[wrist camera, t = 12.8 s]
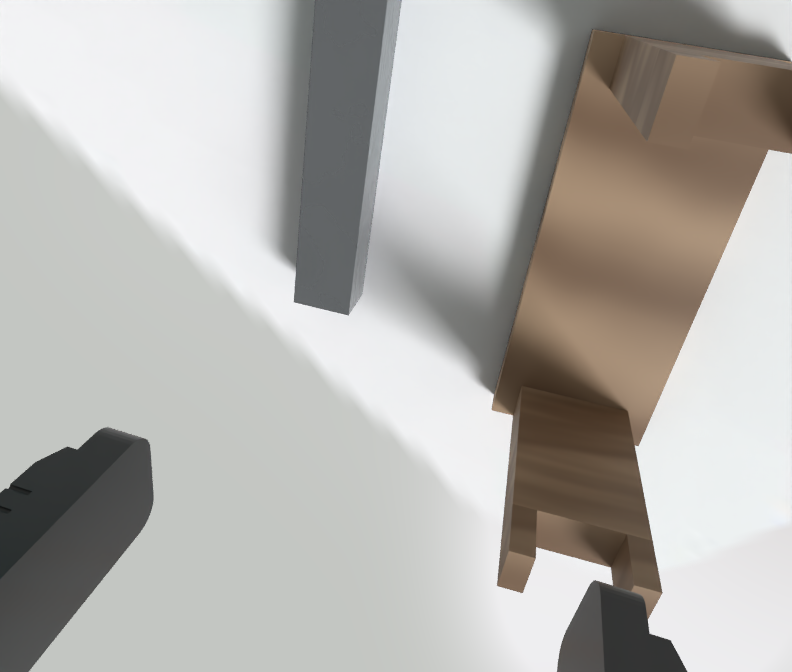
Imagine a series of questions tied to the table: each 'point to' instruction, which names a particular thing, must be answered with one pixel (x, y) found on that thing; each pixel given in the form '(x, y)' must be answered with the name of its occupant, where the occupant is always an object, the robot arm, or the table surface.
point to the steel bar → (343, 147)
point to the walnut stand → (623, 286)
